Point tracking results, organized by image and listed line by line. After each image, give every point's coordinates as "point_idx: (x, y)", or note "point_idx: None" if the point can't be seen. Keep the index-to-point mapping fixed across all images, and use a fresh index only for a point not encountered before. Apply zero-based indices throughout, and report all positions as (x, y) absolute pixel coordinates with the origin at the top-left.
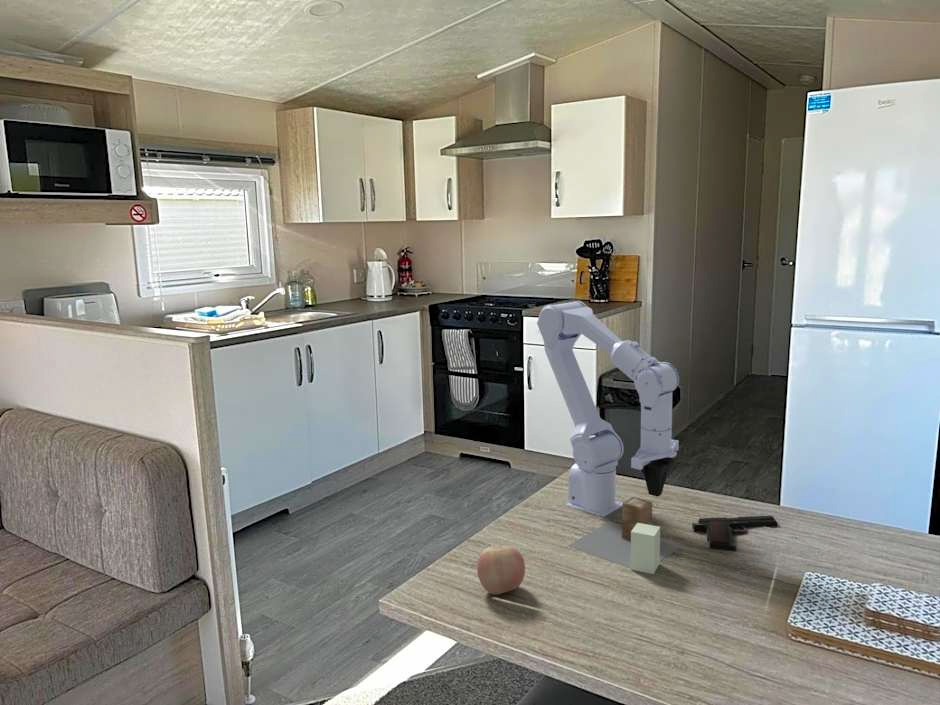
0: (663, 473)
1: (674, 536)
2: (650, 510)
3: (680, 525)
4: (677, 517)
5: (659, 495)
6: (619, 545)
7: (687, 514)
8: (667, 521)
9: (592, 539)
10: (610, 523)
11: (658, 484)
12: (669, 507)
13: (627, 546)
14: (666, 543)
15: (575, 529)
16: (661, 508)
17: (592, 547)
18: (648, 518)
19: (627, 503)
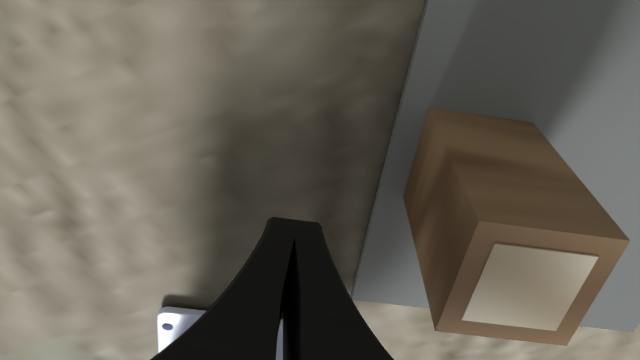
0: (319, 352)
1: (338, 12)
2: (487, 192)
3: (185, 32)
4: (100, 80)
5: (302, 221)
6: None
7: (23, 46)
8: (182, 106)
9: None
10: (372, 289)
11: (346, 291)
12: (18, 153)
13: (576, 162)
14: (475, 14)
15: (464, 355)
16: (60, 179)
17: (626, 266)
18: (496, 170)
19: (556, 325)
